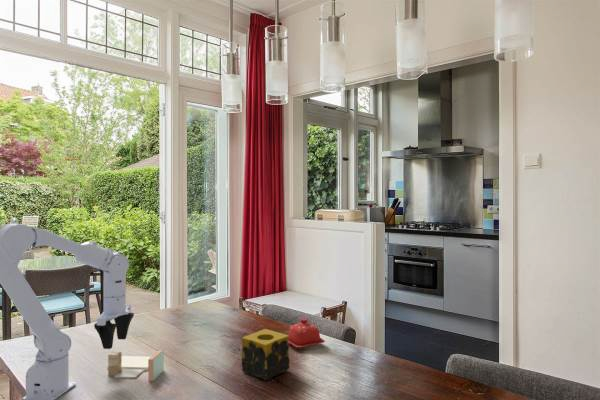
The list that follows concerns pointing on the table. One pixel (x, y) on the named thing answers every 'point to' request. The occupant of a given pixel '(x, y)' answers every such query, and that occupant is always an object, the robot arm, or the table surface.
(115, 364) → the grey plate tan block
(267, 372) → the candle
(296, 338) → the butter dish
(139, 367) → the trivet
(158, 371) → the tile
